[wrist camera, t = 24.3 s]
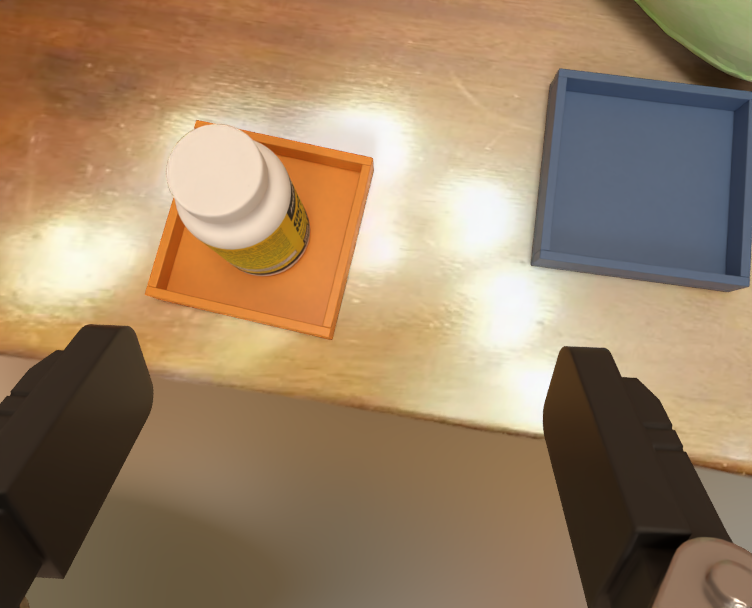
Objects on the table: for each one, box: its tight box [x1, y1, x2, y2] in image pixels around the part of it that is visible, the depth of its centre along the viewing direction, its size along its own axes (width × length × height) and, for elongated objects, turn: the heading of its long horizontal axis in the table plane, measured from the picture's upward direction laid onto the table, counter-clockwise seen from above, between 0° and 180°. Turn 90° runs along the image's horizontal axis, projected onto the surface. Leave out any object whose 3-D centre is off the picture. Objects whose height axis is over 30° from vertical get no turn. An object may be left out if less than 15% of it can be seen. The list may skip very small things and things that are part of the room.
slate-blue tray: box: [531, 69, 752, 292], centre depth 36 cm, size 13×13×2 cm
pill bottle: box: [166, 124, 310, 276], centre depth 31 cm, size 6×6×11 cm
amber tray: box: [145, 120, 374, 340], centre depth 36 cm, size 12×12×2 cm
